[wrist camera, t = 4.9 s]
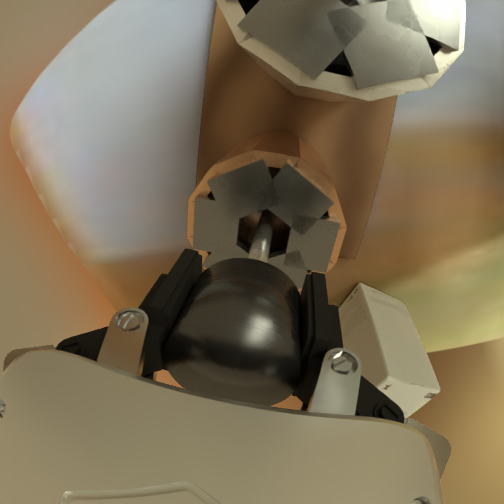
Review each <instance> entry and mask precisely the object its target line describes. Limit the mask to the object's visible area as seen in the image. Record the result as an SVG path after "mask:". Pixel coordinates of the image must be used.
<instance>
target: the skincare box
mask: <svg viewBox="0 0 504 504" xmlns="http://www.w3.org/2000/svg"><path fill="white" fill-rule="evenodd" d="M338 310H339V317H340V325H341V332H342V340H343V348H344V349H347V350H350V351H352V352H353V353H355V354H356V355H357V356H358V357H359V359H360V361H361V363H362V370H361V375H362V376H363V377H364V378H366V379H367V380H368V381H369V382H370V383H372V384H373V385H374V386H375V387H377V388H378V389H379V390H380V391H381V392H383V393H384V394H385V395H386V396H388V397H389V398H390V399H391V400H392V401H394V402H395V403H396V404H397V405H398V406H399V407H400V408H401V409H402V411H403V413H404V418H407V417H409V416H410V415H411V414H413V413H414V412H415V411H417V410H418V409H419V408H420V407H422V406H423V405H424V404H425V403H427V402H428V401H429V400H430V399H432V398H433V397H434V396H435V395H436V394H437V393H439V391H440V387H439V384H438V381H437V379H436V376H435V373H434V371H433V368H432V366H431V363H430V360H429V358H428V356H427V353H426V351H425V348H424V346H423V344H422V341H421V339H420V337H419V334H418V332H417V330H416V327H415V325H414V323H413V321H412V319H411V316H410V314H409V312H408V310H407V308H406V306H405V303H403V302H401V301H399V300H397V299H395V298H393V297H391V296H389V295H387V294H385V293H382V292H380V291H378V290H376V289H374V288H371V287H369V286H367V285H365V284H363V283H361V282H359V283H358V284H357V286H356V287H355V288H354V290H353V291H352V292H351V294H350V295H349V296H348V297H347V299H346V300H345V301H344V302H343V303H342V305H341V306H340V307H339V309H338Z"/></svg>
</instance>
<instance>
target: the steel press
mask: <svg viewBox="0 0 504 504" xmlns="http://www.w3.org/2000/svg"><path fill="white" fill-rule="evenodd" d="M216 1H217V3H218V5H219V7H220V9H221V11H222V13H223V15H224V17H225V19H226V21H227V23H228V25H229V26H230V28H231V30H232V32H233V34H234V36H235V39H236V41H237V43H238V44H239V45H240V46H241V47H242V48H243V49H244V50H245V51H246V52H247V53H248V54H249V55H250V56H251V57H252V58H253V59H254V60H255V61H256V62H257V63H258V64H259V65H260V66H261V68H262V69H263V70H264V71H265V72H266V73H267V74H268V75H269V76H270V77H272V78H273V79H274V80H276V81H277V82H278V83H280V84H281V85H282V86H284V87H285V88H287V89H288V90H289V91H291V92H292V93H293V94H294V95H296V96H302V97H307V98H311V99H317V100H322V101H327V102H338V101H374V100H378V99H382V98H386V97H390V96H395V95H399V94H403V93H408V92H413V91H418V90H423V89H428V88H431V87H432V86H433V85H434V83H435V82H436V81H437V80H438V79H439V78H440V77H441V76H442V74H443V73H444V72H445V71H446V70H447V69H448V68H449V67H450V65H451V64H452V63H453V62H454V61H455V60H456V59H457V57H458V56H459V55H460V54H461V53H462V52H463V50H464V35H465V1H464V0H384V2H376V3H369V4H363V5H358V6H352V7H348V6H346V5H345V4H344V3H342V2H341V1H339V0H216ZM340 52H341V53H342V56H343V58H344V60H345V63H346V65H347V66H337V65H331V64H330V63H331V62H332V61H333V60H334V59H335V58H336V57H337V56H338V54H339V53H340Z"/></svg>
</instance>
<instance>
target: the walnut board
mask: <svg viewBox="0 0 504 504" xmlns="http://www.w3.org/2000/svg"><path fill="white" fill-rule="evenodd" d="M396 100H397V95H395V96H390V97H386V98H382V99H378V100H374V101H338V102H327V101H322V100H317V99H311V98H307V97H302V96H296V95H294V94H293V93H292V92H291V91H289V90H288V89H287V88H285V87H284V86H282V85H281V84H280V83H278V82H277V81H276V80H274V79H273V78H272V77H270V76H269V75H268V74H267V73H266V72H265V71H264V70H263V69H262V68H261V66H260V65H259V64H258V63H257V62H256V61H255V60H254V59H253V58H252V57H251V56H250V55H249V54H248V53H247V52H246V51H245V50H244V49H243V48H242V47H241V46H240V45H239V44H238V43H237V41H236V39H235V36H234V34H233V32H232V30H231V28H230V26H229V25H228V23H227V21H226V19H225V17H224V15H223V13H222V11H221V9H220V7H219V5H218V3H217V7H216V13H215V19H214V25H213V31H212V37H211V44H210V51H209V58H208V66H207V74H206V82H205V90H204V99H203V108H202V118H201V128H200V139H199V150H198V163H197V177H196V188H197V186H198V185H199V183H200V182H201V181H202V179H203V178H204V176H205V175H206V174H207V172H208V171H209V169H210V168H211V167H212V166H213V165H214V164H215V163H217V162H218V161H219V160H220V159H222V158H223V157H224V156H225V155H226V154H228V153H229V152H230V151H231V150H233V149H234V148H235V147H237V146H238V145H239V144H240V143H242V142H243V141H245V140H247V139H250V138H252V137H254V136H256V135H259V134H262V133H266V132H268V131H269V132H270V131H272V132H285V133H289V134H292V135H296V136H297V137H298V136H299V137H300V138H301V139H303V140H304V141H306V142H307V143H308V144H309V145H310V146H311V147H312V148H313V149H314V150H315V151H317V152H318V153H319V154H320V156H321V158H322V160H323V163H324V165H325V167H326V169H327V171H328V173H329V176H330V178H331V180H332V182H333V185H334V187H335V190H336V193H337V196H338V199H339V202H340V206H341V209H342V212H343V216H344V219H345V223H346V226H347V229H346V232H345V236H344V239H343V243H342V246H341V249H340V253H339V257H345V258H350V259H356V256H357V253H358V250H359V247H360V244H361V240H362V237H363V234H364V231H365V228H366V224H367V221H368V218H369V214H370V211H371V207H372V204H373V200H374V197H375V193H376V189H377V186H378V182H379V178H380V174H381V170H382V166H383V162H384V158H385V154H386V149H387V145H388V140H389V136H390V131H391V126H392V121H393V116H394V111H395V106H396Z"/></svg>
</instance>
